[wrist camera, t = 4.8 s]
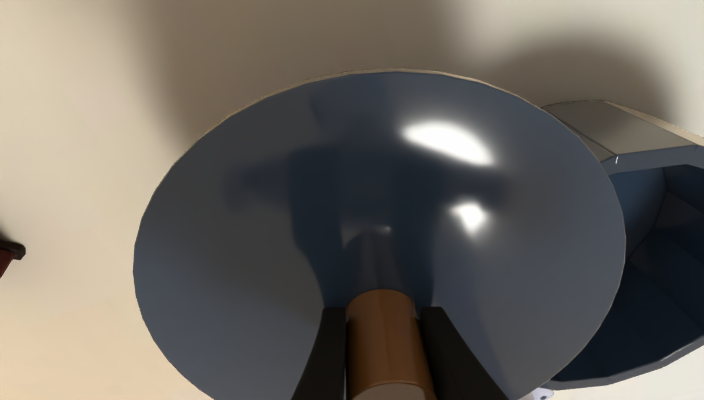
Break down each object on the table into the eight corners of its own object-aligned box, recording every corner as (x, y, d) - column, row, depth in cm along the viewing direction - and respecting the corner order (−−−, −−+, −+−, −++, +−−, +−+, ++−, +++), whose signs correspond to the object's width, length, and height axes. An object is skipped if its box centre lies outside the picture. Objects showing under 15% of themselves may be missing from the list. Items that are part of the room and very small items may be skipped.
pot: (583, 319, 27) (644, 403, 22) (395, 285, 25) (411, 369, 20) (733, 138, 20) (877, 195, 15) (491, 67, 18) (556, 104, 13)
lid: (481, 432, 18) (517, 545, 15) (148, 391, 16) (90, 515, 12) (715, 145, 11) (909, 230, 7) (146, -21, 8) (-7, -22, 5)
